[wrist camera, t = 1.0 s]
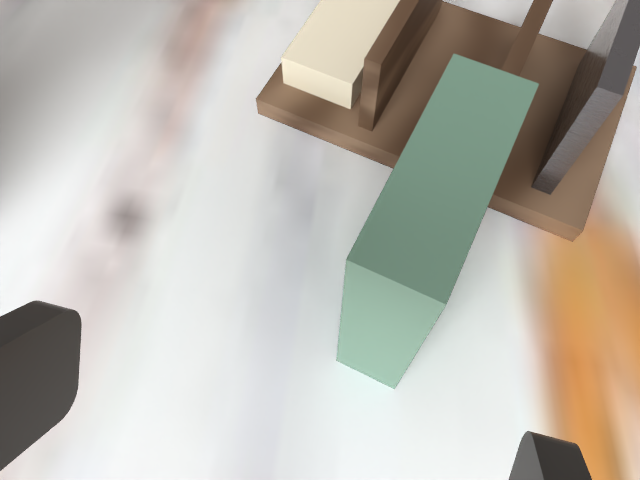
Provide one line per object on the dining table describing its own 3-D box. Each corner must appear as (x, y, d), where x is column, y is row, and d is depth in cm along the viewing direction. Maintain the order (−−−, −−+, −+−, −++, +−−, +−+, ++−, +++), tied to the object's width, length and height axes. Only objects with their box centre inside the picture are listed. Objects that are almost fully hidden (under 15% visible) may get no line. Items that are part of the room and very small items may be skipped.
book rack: (258, 113, 38) (244, 28, 31) (345, -15, 44) (349, -111, 37) (572, 241, 34) (634, 175, 27) (626, 81, 39) (689, -7, 33)
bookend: (531, 187, 34) (597, 86, 26) (579, 63, 38) (648, -56, 30) (550, 194, 34) (623, 95, 26) (596, 69, 38) (671, -50, 30)
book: (336, 360, 31) (346, 259, 18) (405, 218, 35) (453, 53, 22) (394, 389, 30) (446, 304, 18) (458, 240, 34) (538, 83, 21)
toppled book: (283, 83, 37) (281, 57, 35) (346, -11, 41) (348, -40, 39) (350, 109, 36) (352, 84, 34) (409, 10, 40) (413, -18, 38)
